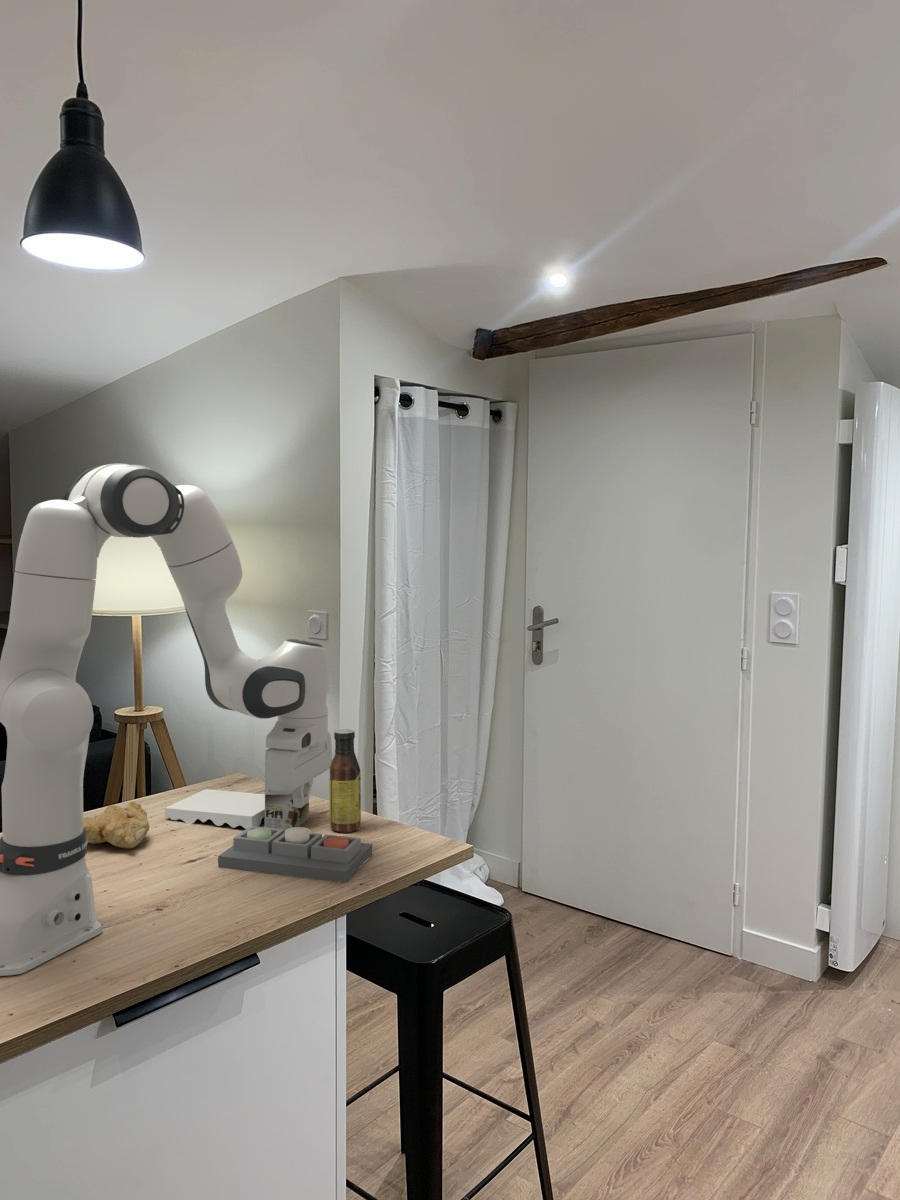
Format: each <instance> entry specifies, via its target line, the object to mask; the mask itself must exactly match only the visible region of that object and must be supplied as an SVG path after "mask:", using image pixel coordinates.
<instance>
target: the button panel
mask: <svg viewBox="0 0 900 1200" xmlns="http://www.w3.org/2000/svg"><path fill="white" fill-rule="evenodd" d="M264 827H265V826H264ZM264 827H262V826H258V827H255V826H250V827H248V828H247V829H244V830H243V831H241V832H240V833H238V834H237V835H235V836H234V837H233V845H232V846H230V847H229V848H227V849H226V850H225V851H223V852H221V854H219V855H218V856H217V867H218V868H222V867H224V869H225V868H226V869H231V868H234V869H233V870H239V869H241V870H240V871H247V870H250V871H249V872H255V871H256V873H263V872H264V874H272V875H279V876H289V877H296V878H297V877H298V878H303V879H310V880H312V879H313V880H319V881H320V880H321V881H329V882H336V883H342V884H346V883H347V882H348V881H349V880H350V879H351V878H352V877H353V876H354V875H355V873H357V871H358V870H359V869H360V868H361V867H362V866H363V865H364V864H365V863H366V862H367V861H368V860H369V859H370V858H369V857H370V856H371V855H372V856H373V843H366V842H361V840H362V839H361V837H351V836H344V835H343V836H342V835H333V834H324V835H323V833H317V832H316V833H315V832H310V841H308V842H307V843H306V844H297V843H288V842H285V831H284V830H282V829H273V828H265V829H269V830H271V837H269V838H268V839H267V840H262V839H253V838H247V832H248V831H249V830H252V829H256V828H264ZM330 837H344V838H347V839H348V840H349V842H348V846H347V847H346V848H345V849H340V848H332V847H324V840H325V839H326V838H330ZM372 856H371V857H372ZM368 858H369V859H368ZM367 859H368V860H367ZM366 860H367V861H366ZM365 861H366V862H365ZM364 862H365V863H364ZM363 863H364V864H363ZM362 864H363V865H362ZM361 865H362V866H361ZM360 866H361V867H360ZM359 867H360V868H359ZM357 869H358V870H357ZM353 874H354V875H353ZM352 875H353V876H352ZM351 876H352V877H351ZM350 877H351V878H350ZM349 878H350V879H349ZM345 882H346V883H345Z"/></svg>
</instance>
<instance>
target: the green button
mask: <svg viewBox="0 0 900 1200" xmlns="http://www.w3.org/2000/svg"><path fill="white" fill-rule="evenodd" d="M269 837H271V830H269V829H265V828H256V829H252V830H249V831H248V832H247V838H253V839H262V840H267V839H268V838H269Z"/></svg>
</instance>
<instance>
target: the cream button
mask: <svg viewBox="0 0 900 1200" xmlns="http://www.w3.org/2000/svg"><path fill="white" fill-rule="evenodd" d="M284 833H285V842H288V843H297V844H306V843H307V842H308V841H310V833H311V831H310V829H309V828H307V827H304V826H303V827H302V826H299V827H293V828H289V829H287V830H285V831H284Z"/></svg>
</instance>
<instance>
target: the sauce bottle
mask: <svg viewBox="0 0 900 1200" xmlns="http://www.w3.org/2000/svg"><path fill="white" fill-rule="evenodd" d="M333 733H334V735H333V737H334V741H335V742H334V744H335V746H334V747H335V748H334V756H333V757H332V762H331V766H330V768H329V778H328V779H329V780H328V783H329V784H328V785H329V786H328V787H329V793H328V794H329V822H330V823H329V824H330V829H331V830H332V831H334V832H336V833H343V834H344V833H352V832H356V831H358V830H359V829H360V828H361V821H362V814H361V813H362V810H361V809H362V805H361V804H362V801H361V800H362V796H361V795H362V794H361V790H362V788H361V778H362V777H361V768H360V765H359V761H358V759H357V756H356V753H355V737H356V736H355V735H356V733H355V731H354V730H353V729H348V728H347V729H345V728H344V729H337V730H335V731H334V732H333Z"/></svg>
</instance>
